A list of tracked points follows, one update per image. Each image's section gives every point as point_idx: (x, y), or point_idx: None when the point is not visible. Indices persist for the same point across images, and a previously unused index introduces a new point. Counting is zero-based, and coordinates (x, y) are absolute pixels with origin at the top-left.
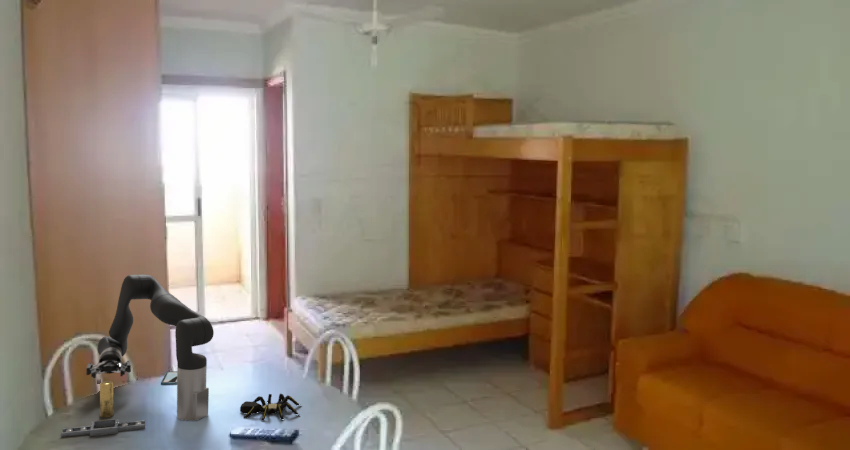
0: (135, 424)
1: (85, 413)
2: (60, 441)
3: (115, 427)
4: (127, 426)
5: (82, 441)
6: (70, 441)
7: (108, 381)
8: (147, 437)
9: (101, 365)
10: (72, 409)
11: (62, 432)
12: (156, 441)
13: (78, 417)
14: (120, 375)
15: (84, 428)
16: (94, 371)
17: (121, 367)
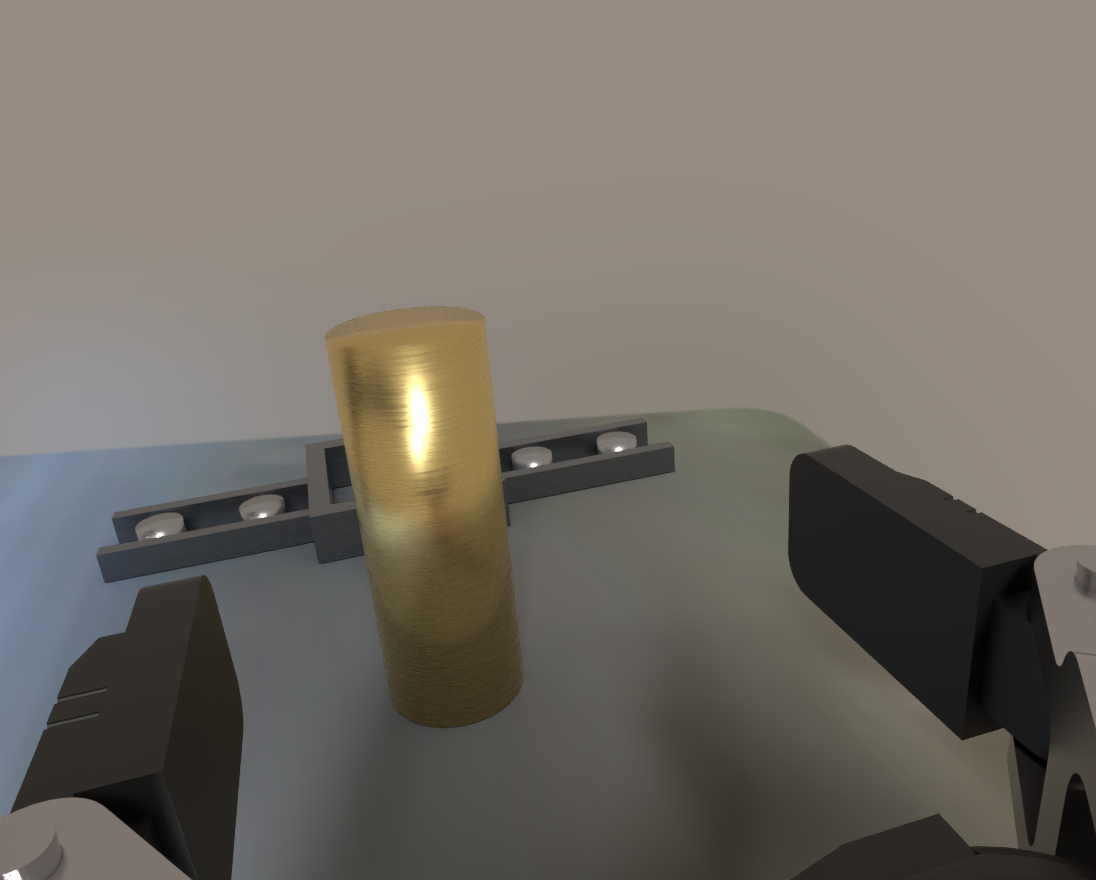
0: (183, 520)
1: (712, 706)
2: (618, 420)
3: (317, 444)
4: (242, 490)
5: (497, 428)
6: (563, 423)
7: (396, 347)
8: (133, 474)
9: (1083, 777)
10: (967, 792)
11: (641, 423)
12: (94, 454)
13: (722, 631)
14: (236, 681)
15: (528, 456)
16: (846, 459)
17: (143, 744)
